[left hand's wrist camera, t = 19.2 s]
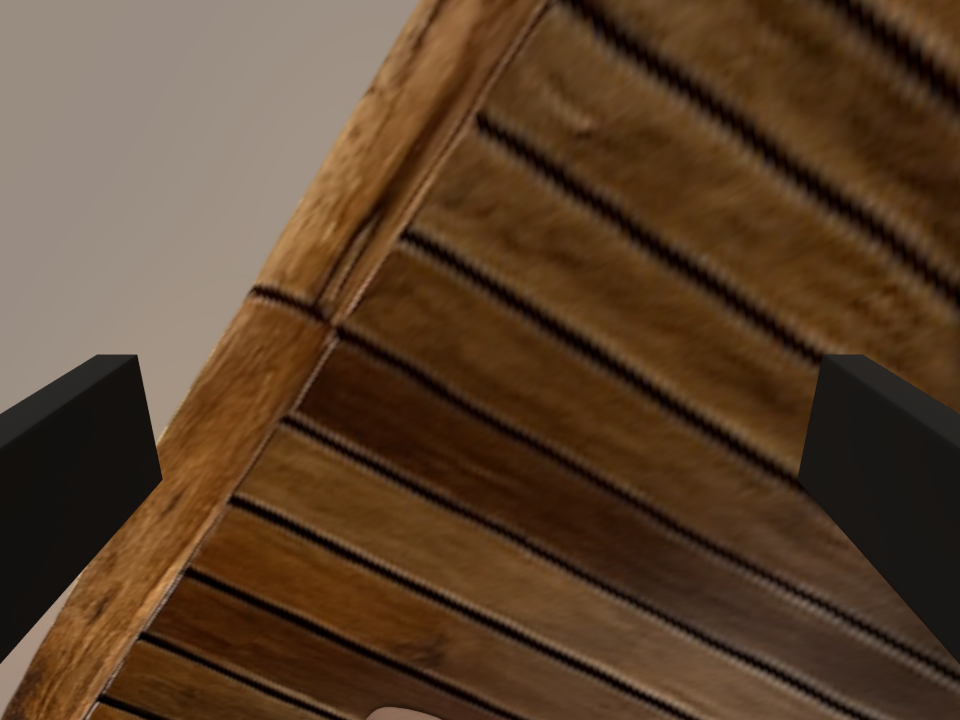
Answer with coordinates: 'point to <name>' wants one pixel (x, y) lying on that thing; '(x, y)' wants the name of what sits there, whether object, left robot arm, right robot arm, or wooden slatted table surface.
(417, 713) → the anatomical model
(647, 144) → the wooden slatted table surface
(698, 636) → the wooden slatted table surface
